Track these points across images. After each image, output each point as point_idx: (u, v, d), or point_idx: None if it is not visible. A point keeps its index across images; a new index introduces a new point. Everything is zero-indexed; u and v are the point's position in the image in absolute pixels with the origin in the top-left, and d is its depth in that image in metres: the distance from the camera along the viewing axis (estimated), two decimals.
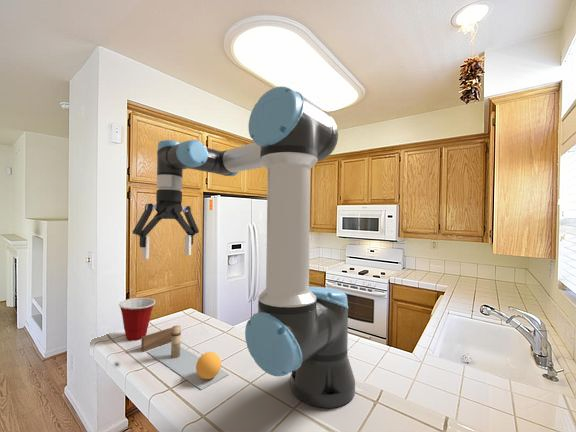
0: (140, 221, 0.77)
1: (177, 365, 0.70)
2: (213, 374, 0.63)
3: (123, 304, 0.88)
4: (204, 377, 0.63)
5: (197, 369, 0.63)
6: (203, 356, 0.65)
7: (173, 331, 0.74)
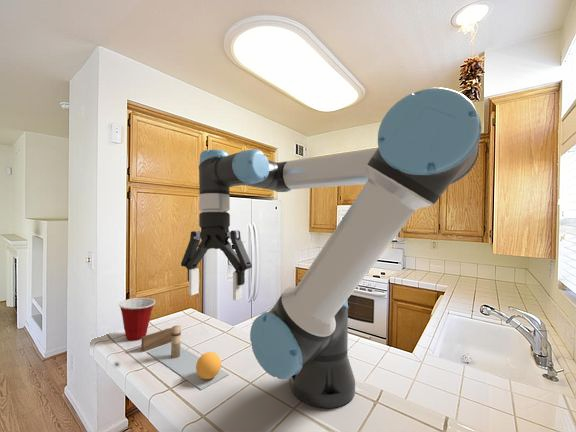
0: None
1: (177, 365, 0.70)
2: (213, 374, 0.63)
3: (123, 304, 0.88)
4: (204, 377, 0.63)
5: (197, 369, 0.63)
6: (203, 356, 0.65)
7: (173, 331, 0.74)
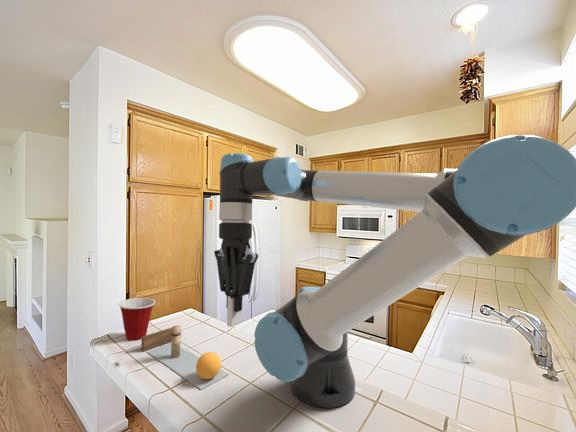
0: None
1: (177, 365, 0.70)
2: (213, 374, 0.63)
3: (123, 304, 0.88)
4: (204, 377, 0.63)
5: (197, 369, 0.63)
6: (203, 356, 0.65)
7: (173, 331, 0.74)
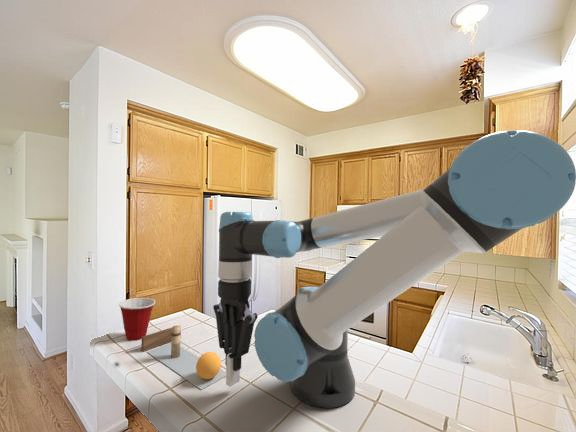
0: None
1: (177, 365, 0.70)
2: (213, 374, 0.63)
3: (123, 304, 0.88)
4: (204, 377, 0.63)
5: (197, 369, 0.63)
6: (203, 356, 0.65)
7: (173, 331, 0.74)
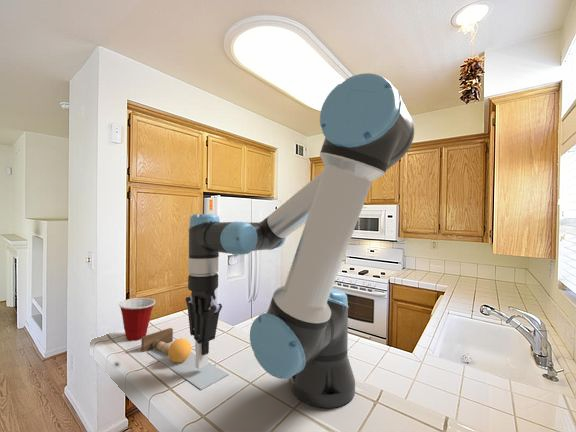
0: None
1: (177, 365, 0.70)
2: None
3: (123, 304, 0.88)
4: None
5: (170, 354, 0.71)
6: (180, 360, 0.71)
7: (154, 344, 0.79)
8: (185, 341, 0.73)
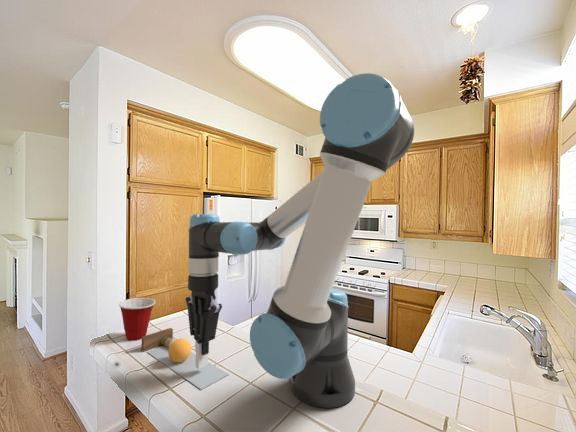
0: None
1: (177, 365, 0.70)
2: None
3: (123, 304, 0.88)
4: None
5: (170, 354, 0.71)
6: (180, 360, 0.71)
7: None
8: (185, 341, 0.73)
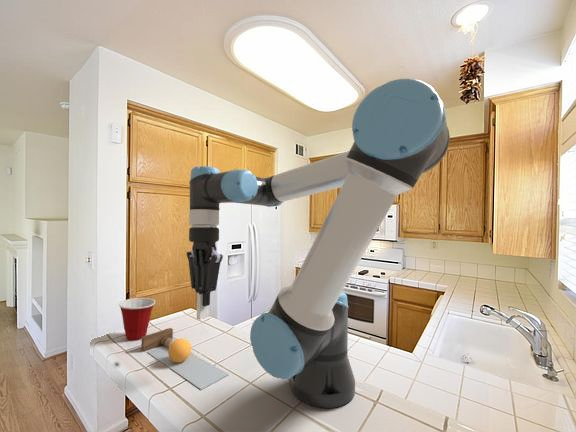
0: None
1: (177, 365, 0.70)
2: None
3: (123, 304, 0.88)
4: None
5: (170, 354, 0.71)
6: (180, 360, 0.71)
7: None
8: (185, 341, 0.73)
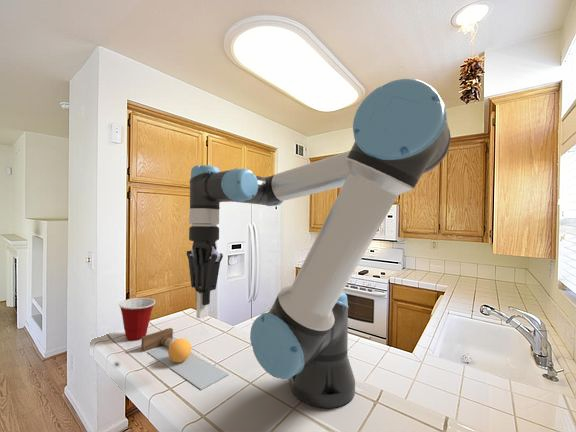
0: None
1: (177, 365, 0.70)
2: None
3: (123, 304, 0.88)
4: None
5: (170, 354, 0.71)
6: (180, 360, 0.71)
7: None
8: (185, 341, 0.73)
